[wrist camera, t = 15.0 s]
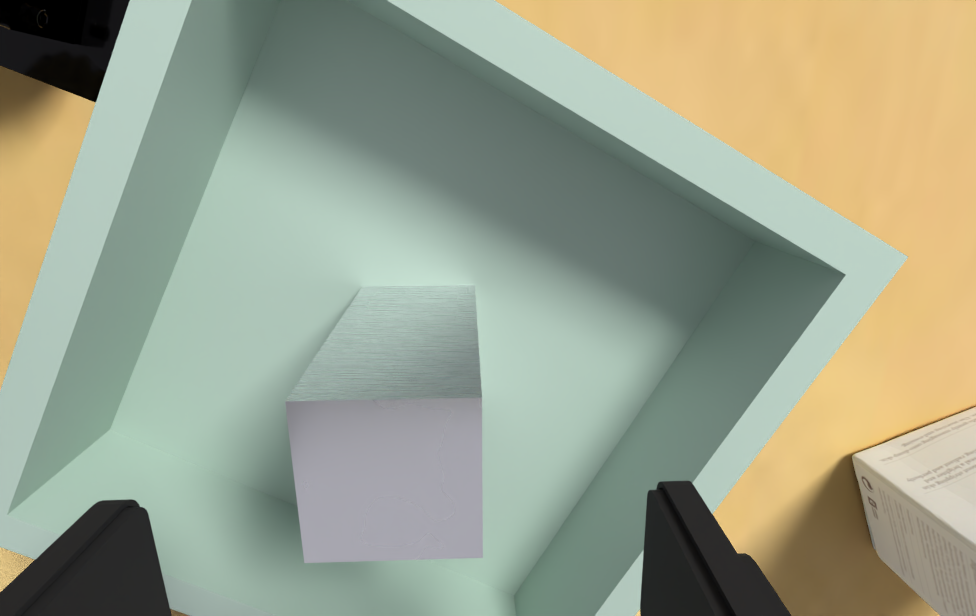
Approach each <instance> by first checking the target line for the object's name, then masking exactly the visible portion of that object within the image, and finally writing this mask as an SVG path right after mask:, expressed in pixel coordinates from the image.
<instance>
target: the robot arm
mask: <svg viewBox="0 0 976 616" xmlns="http://www.w3.org/2000/svg"><path fill="white" fill-rule="evenodd" d="M640 612H641V616H791V614H790V613H789V611H788V610H787V608H786V607H785V605H784V604H783V602H782V601H781V599H780V598H779V596H778V595H777V593H776V592H775V590H774V589H773V587H772V586H771V584H770V583H769V581H768V580H767V578H766V577H765V575H764V574H763V573H762V571H761V570H760V568H759V567H758V565H757V564H756V562H755V561H754V560H753V559H752V558H751V556H749V555H747V554H737V552H736V551H735V549H734V548H733V546H732V544H731V543H730V541H729V540H728V538H727V537H726V535H725V533H724V532H723V530H722V529H721V527H720V526H719V524H718V522H717V521H716V519H715V518H714V516H713V515H712V513H711V511H710V510H709V508H708V507H707V505H706V504H705V502H704V501H703V499H702V497H701V496H700V494H699V493H698V491H697V490H696V488H695V486H694V485H693V484H692V482H691V481H660V482H659V483H658V485H657V488H656V490H649V491H648V494H647V506H646V521H645V537H644V553H643V568H642V584H641V600H640ZM0 616H172V615H171V611H170V607H169V602H168V598H167V593H166V589H165V585H164V580H163V576H162V572H161V567H160V563H159V558H158V554H157V550H156V545H155V541H154V536H153V532H152V528H151V523H150V519H149V515H148V512H147V510H146V509H145V508H143V507H140V506H139V504H138V503H137V501H135V500H132V499H127V500H102V501H98V502H97V503H95V504H94V505H93V506H92V507H91V508H89V509H88V510H87V511H86V512H85V513H84V514H83V515H82V516H81V517H80V518H79V519H78V520H77V521H76V522H75V523H74V524H73V525H71V526H70V527H69V528H68V529H67V530H66V531H65V532H64V533H63V534H62V535H61V536H60V537H59V538H58V539H57V540H56V541H55V542H53V543H52V544H51V545H50V546H49V547H48V548H47V549H46V550H45V551H44V552H43V553H42V554H41V555H40V556H39V557H38V558H37V559H35V560H34V561H33V562H32V563H31V564H30V565H29V566H28V567H27V568H26V569H25V570H24V571H23V572H22V573H21V574H20V575H18V576H17V577H16V578H15V579H14V580H13V581H12V582H11V583H10V584H9V585H8V586H7V587H6V588H5V589H4V590H3V591H2V592H0Z"/></svg>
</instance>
